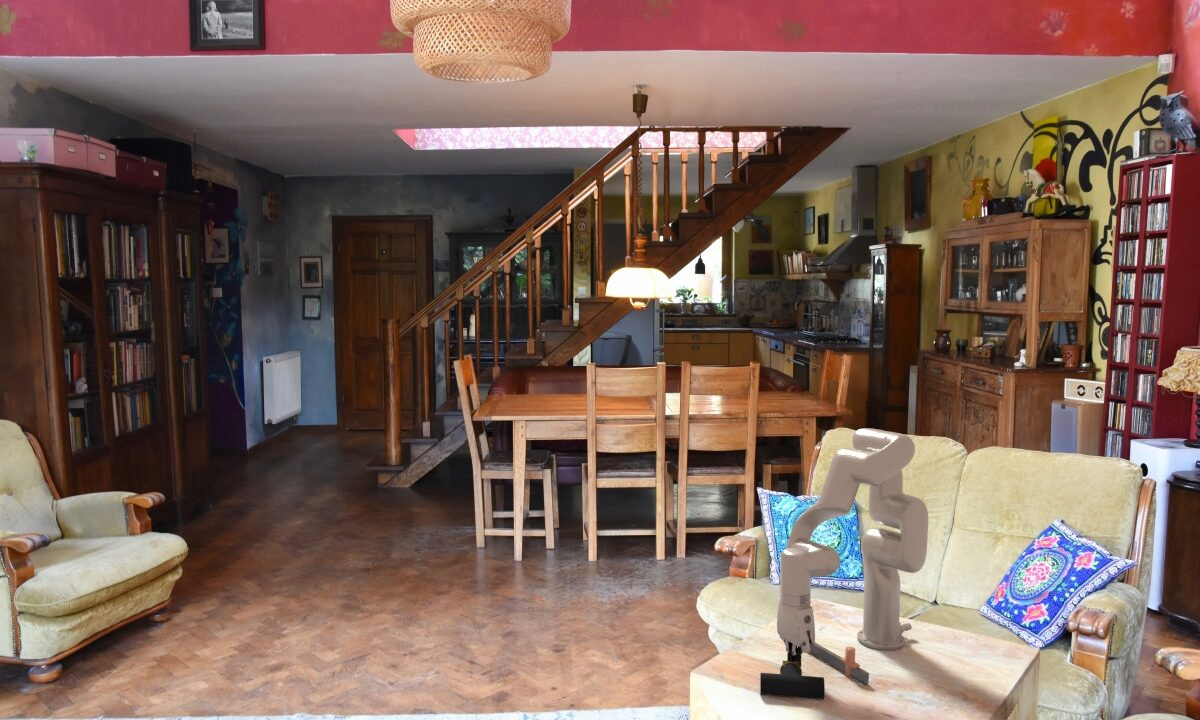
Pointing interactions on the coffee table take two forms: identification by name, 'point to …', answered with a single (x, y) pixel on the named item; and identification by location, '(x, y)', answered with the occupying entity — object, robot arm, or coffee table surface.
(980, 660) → the coffee table surface
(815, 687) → the pipe connector
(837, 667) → the guide rail
